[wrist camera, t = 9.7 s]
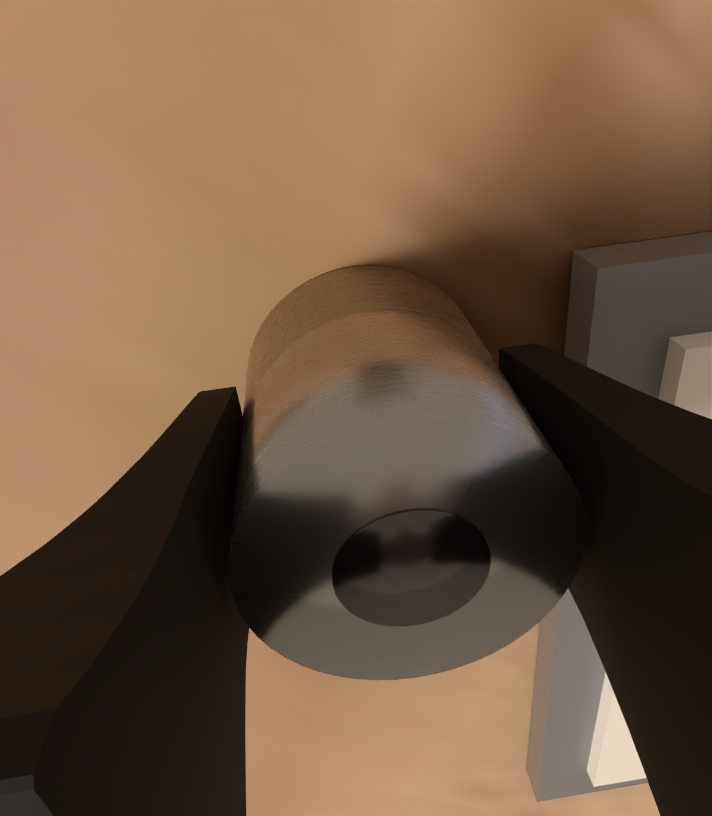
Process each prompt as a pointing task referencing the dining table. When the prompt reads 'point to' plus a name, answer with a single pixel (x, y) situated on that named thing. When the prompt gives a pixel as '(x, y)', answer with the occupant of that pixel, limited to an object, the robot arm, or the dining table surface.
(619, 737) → the kitchen scale
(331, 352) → the steel spacer
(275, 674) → the dining table surface
